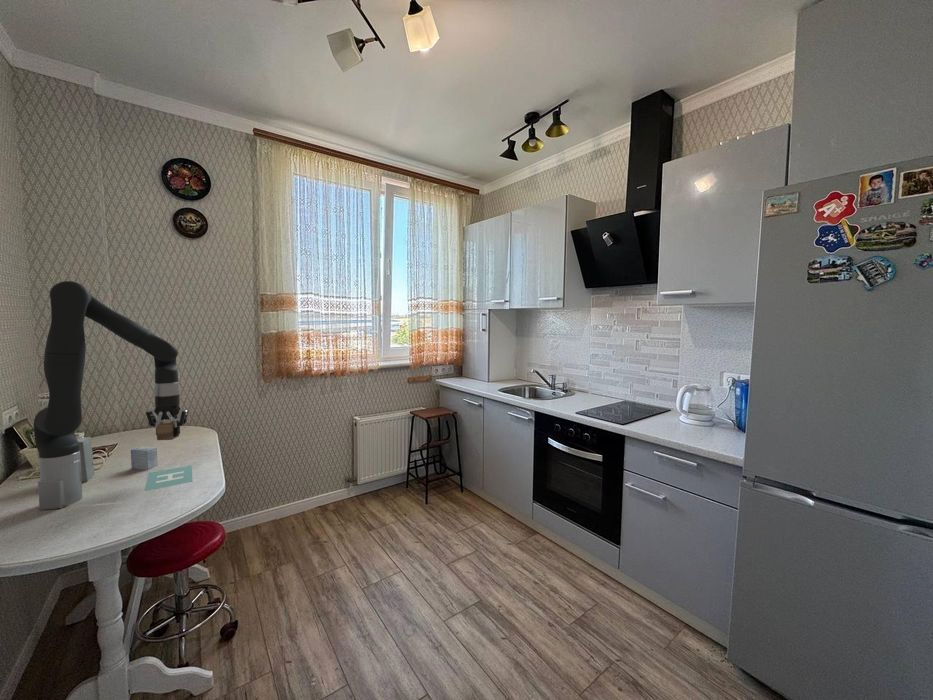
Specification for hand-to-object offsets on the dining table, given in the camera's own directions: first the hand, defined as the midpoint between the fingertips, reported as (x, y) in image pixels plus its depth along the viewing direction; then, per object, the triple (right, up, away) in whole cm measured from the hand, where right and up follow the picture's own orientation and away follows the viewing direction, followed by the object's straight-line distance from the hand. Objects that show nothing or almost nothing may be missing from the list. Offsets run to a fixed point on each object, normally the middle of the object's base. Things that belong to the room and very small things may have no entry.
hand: (168, 436), depth 143 cm
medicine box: (-18, -16, +10) cm, 27 cm away
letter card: (0, -17, +1) cm, 17 cm away
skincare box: (-33, -17, -2) cm, 37 cm away
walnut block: (0, -1, 0) cm, 1 cm away
